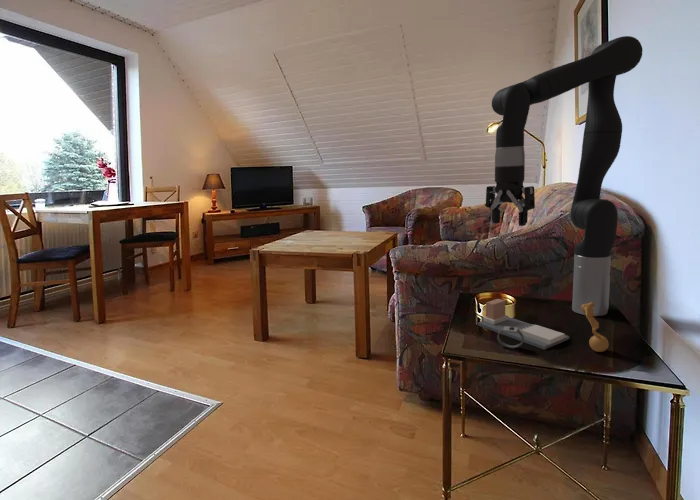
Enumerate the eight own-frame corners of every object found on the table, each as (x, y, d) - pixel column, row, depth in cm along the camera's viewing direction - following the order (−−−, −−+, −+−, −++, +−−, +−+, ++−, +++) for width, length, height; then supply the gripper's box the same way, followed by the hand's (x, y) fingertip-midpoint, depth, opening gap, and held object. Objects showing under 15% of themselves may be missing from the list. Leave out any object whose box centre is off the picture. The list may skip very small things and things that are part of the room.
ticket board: (501, 317, 128) (501, 310, 127) (569, 339, 110) (569, 331, 109) (477, 325, 123) (477, 318, 122) (544, 349, 105) (544, 341, 104)
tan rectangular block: (497, 316, 126) (497, 297, 125) (508, 319, 123) (508, 300, 122) (483, 320, 123) (483, 302, 122) (493, 324, 120) (494, 305, 119)
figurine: (608, 359, 98) (611, 309, 96) (578, 355, 101) (580, 306, 99) (608, 345, 105) (610, 298, 103) (580, 341, 108) (582, 295, 106)
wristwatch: (496, 347, 108) (496, 328, 107) (498, 343, 110) (498, 324, 109) (522, 351, 105) (523, 332, 104) (524, 347, 107) (524, 327, 106)
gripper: (542, 162, 112) (540, 224, 115) (497, 164, 124) (497, 220, 127) (523, 164, 108) (522, 228, 111) (479, 166, 120) (479, 223, 123)
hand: (508, 224), depth 119 cm, fingers open, 8 cm apart
